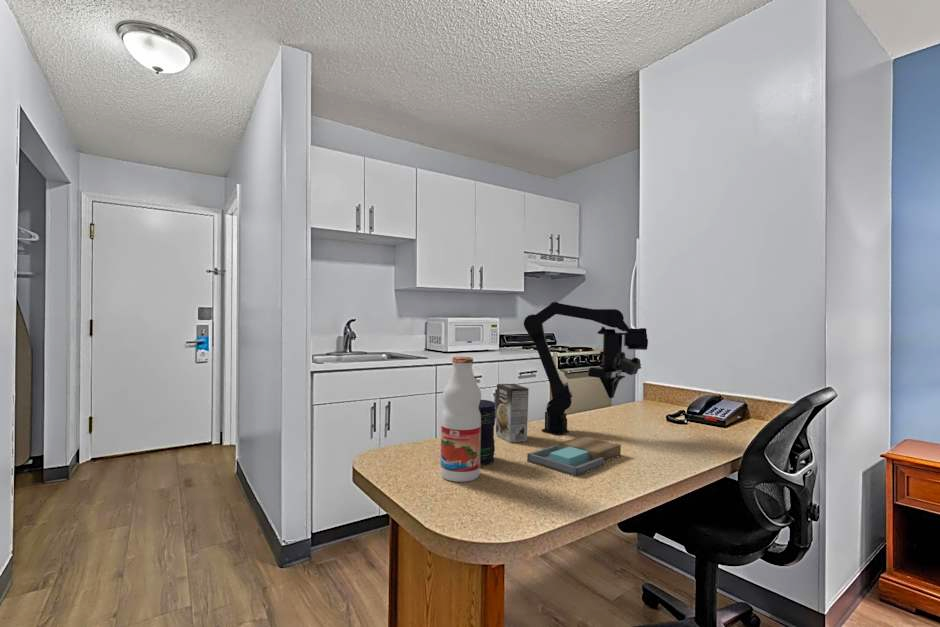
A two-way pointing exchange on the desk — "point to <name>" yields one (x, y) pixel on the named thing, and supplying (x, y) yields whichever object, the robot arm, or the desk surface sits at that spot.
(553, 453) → the teal sponge
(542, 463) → the tray
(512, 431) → the coffee box
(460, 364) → the fruit juice
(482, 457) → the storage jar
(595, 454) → the deck
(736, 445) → the desk surface
